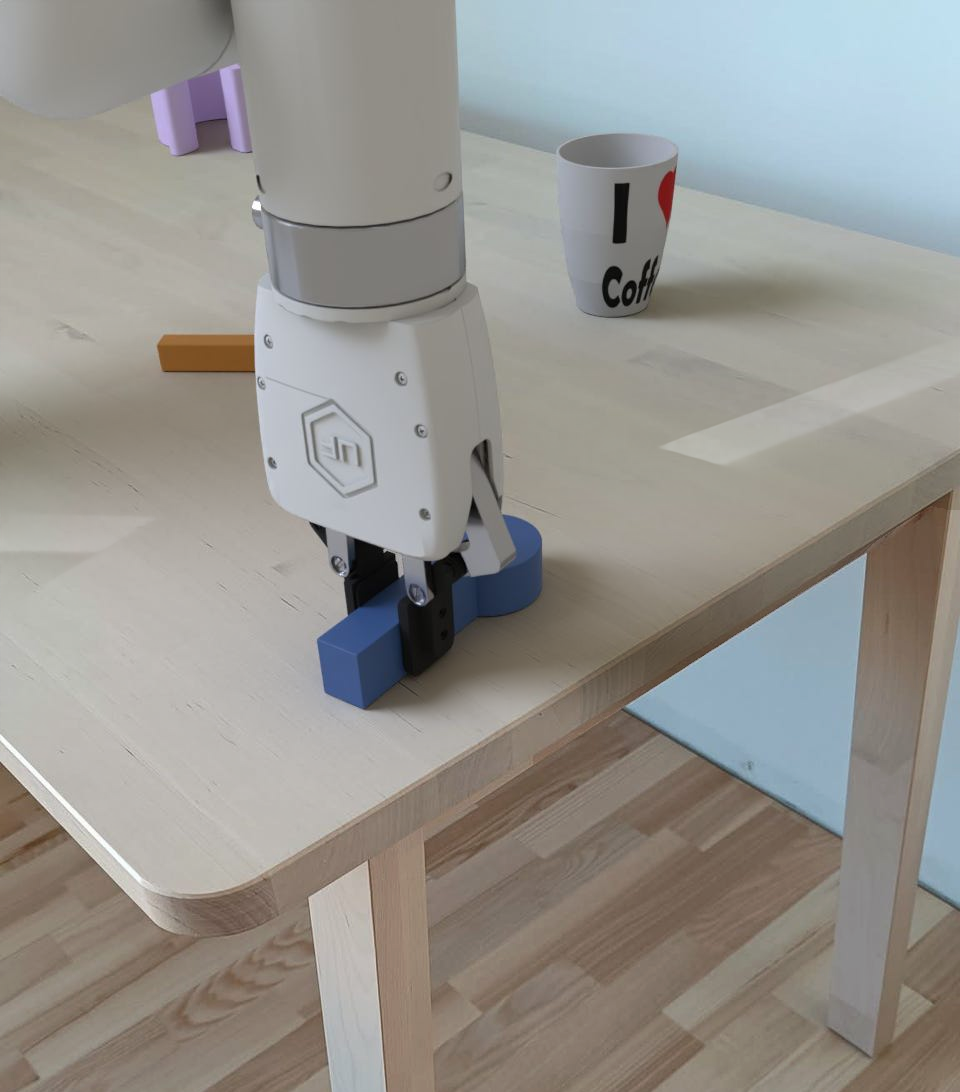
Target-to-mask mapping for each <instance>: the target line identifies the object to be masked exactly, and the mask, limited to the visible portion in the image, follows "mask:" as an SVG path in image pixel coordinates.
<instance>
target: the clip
mask: <svg viewBox="0 0 960 1092" xmlns="http://www.w3.org/2000/svg"><path fill="white" fill-rule="evenodd" d="M149 96H150V101H151V107H152V111H153V116H154V122H155V126H156V132H157V136H158V137H157V138H158V141H159V142H160V143H161V144H162V145H165V146H167V147H169V150H170V155H172V156H176V157H177V156H184V155H186V154H189V153H192V152H194V151H197V149H199V147H200V146H199V141H198V133H197V127H196V124H197V123H201V122H206V121H211V120H212V121H213V120H223V119H224V120H225V119H227V127H228V132H229V138H230V145H231V147H232V149H233V150H234V151H235V150H236V151H238V152H239V153H240V152H241V153H250V152H252V145H251V138H250V131H249V124H248V117H247V110H246V103H245V96H244V89H243V82H242V76H241V69H240V62H239V63H237V64H234V65H231V66H229V67H226V68H223V69H220V70H217V71H214V72H211V73H209V74H205V75H202V76H199V77H196V78H193V79H189V80H184V81H182V82H180V83H177V84H175V85H172V86H170V87H167V88H165V89H163V90H160V91H158V92H155V93H153V94H150V95H149Z"/></svg>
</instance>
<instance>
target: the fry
mask: <svg viewBox="0 0 960 1092" xmlns="http://www.w3.org/2000/svg"><path fill="white" fill-rule="evenodd" d="M254 336H255V334H183V333H182V334H167V333H166V334H163V335H162V336H161V338H160V340H159V341H158V342H157V344H156V349H157V353H158V357H159V362H160V367H161V371H163V372H255V342H254Z"/></svg>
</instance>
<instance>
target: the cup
mask: <svg viewBox="0 0 960 1092" xmlns="http://www.w3.org/2000/svg"><path fill="white" fill-rule="evenodd" d="M679 151H680V148H679V146H678V144H676V143H675V142H674V141H672V140H669V139H668V138H665V137H661V136H658V135H652V134H646V133H636V132H609V133H608V132H606V133H597V134H590V135H585V136H580V137H576V138H573V139H570V140H568V141H566V142H563V143H562V144H560V145H559V146H558V147H557V148H556V150H555V159H556V176H557V177H556V178H557V197H558V199H557V200H558V217H559V225H560V232H561V237H562V243H563V245H562V246H563V250H564V259H565V265H566V270H567V274H568V277H569V281H570V284H571V288H572V291H573V294H574V298H575V302H576V305H577V307H578V309H579V310H580V311H582V312H584V313H586V314H589V315H592V316H597V317H606V318H609V317H610V318H617V317H625V316H631V315H634V314H637V313H639V312H642V311H643V310H645V309H646V308H647V306H648V304H649V300H650V298H651V295H652V292H653V290H654V286H655V284H656V281H657V278H658V275H659V272H660V270H661V265H662V261H663V257H664V251H665V247H666V242H667V236H668V232H669V228H670V224H671V223H670V222H671V218H672V210H673V202H674V194H675V186H676V185H675V184H676V176H677V166H678V159H679Z"/></svg>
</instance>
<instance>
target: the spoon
mask: <svg viewBox="0 0 960 1092" xmlns="http://www.w3.org/2000/svg"><path fill="white" fill-rule="evenodd" d="M502 515H503V518H504V520H505V523H506V526H507V528H508V531H509V533H510V536H511V538H512V541H513V543H514V546H515V548H516V552H517V554H516V558H515V559H514V560H513V561H512V562H511V563H509V564H508V565H507V566H506V567H504V568H503V569H502V570H500V571H499V572H498V573H495V574H489V575H482V576H475V577H470V576H467V577H462V578H460V579H459V580H458V581H456V582H455V583H454V584H452V595H453V612H454V630H455V635H457V634H458V633H459V632H460V631H461V630H463V629H465V627H467V626H468V625H469V624H470V623H472V622H473V621H474V620H475V619H476V618H478V617H495V616H496V617H497V616H503V615H504V616H505V615H508V614H512V613H515V612H518V611H520V610H522V609H524V608H527V606H530V604H532V603H534V602H535V601H536V599H537V598H538V597H539V595H540V594H541V592H542V588H543V538H542V535H541V533H540V531H539V530H538V528H537V527H536V526H535V525H534V524H532V523H530V522H529V521H527V520H525V519H523V518H520V517H517V516H514V515H510V514H504V513H502ZM466 539H468V537H467V535H466V532H465V533H464V536H463V539H462V541H464V540H466ZM434 563H435V561H431V565H432V564H434ZM406 595H407V592H406V585H405V577H404V574H402V575H401V576H399V579H397V580H396V581H395V582H393V583H392V584H391V585H389V586H388V587H387V588H385V589H384V590H383V591H381V592H380V593H379V594H377V595H376V596H375V597H373V598H372V599H371V600H369V601H368V602H367V603H365V604H364V605H362V606H361V607H360V608H358V609H356V610H355V611H354V612H352V613H351V614H350V615H348V614H347V616H346V617H344V618H343V619H342V620H340V621H339V622H338V623H336V624H335V625H333V626H332V627H331V628H329V629H328V630H326V631H325V632H324V633H323V634H321V635H320V636H319V637H317V638H316V644H317V652H318V659H319V665H320V671H321V678H322V679H321V680H322V684H323V691H324V693H325V694H327V695H330V696H332V697H334V698H337V699H338V700H340V701H341V700H342V701H344V702H346V703H348V704H350V705H353V706H354V707H358V708H359V709H362V710H365V709H366V708H367V707H368V706H369V707H370V705H371V704H372V703H373V702H375V701H376V700H377V699H378V698H380V697H381V696H382V695H383V694H385V693H386V692H387V691H388V690H389V689H391V688H392V687H393V686H394V685H395V684H397V683H398V682H399V681H401V680H402V679H403V678H404V677H405V676H407V675H408V674H409V673H407V672H406V671H405V668H404V665H403V654H402V644H401V633H400V624H399V620H398V609H397V606H398V602H399V601H400V600H401V599H402V598H403V597H405V596H406Z"/></svg>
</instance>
